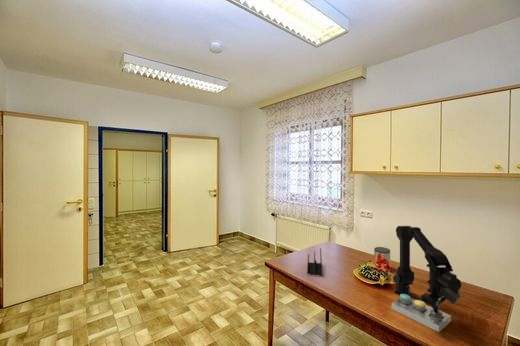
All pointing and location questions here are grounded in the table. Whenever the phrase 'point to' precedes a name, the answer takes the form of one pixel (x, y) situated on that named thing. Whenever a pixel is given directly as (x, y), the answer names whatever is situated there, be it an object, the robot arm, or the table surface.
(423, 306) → the button mustard
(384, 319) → the table surface
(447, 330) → the table surface
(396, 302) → the console panel
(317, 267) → the letter holder
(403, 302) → the button teal
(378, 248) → the coffee can
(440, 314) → the button black
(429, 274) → the robot arm
